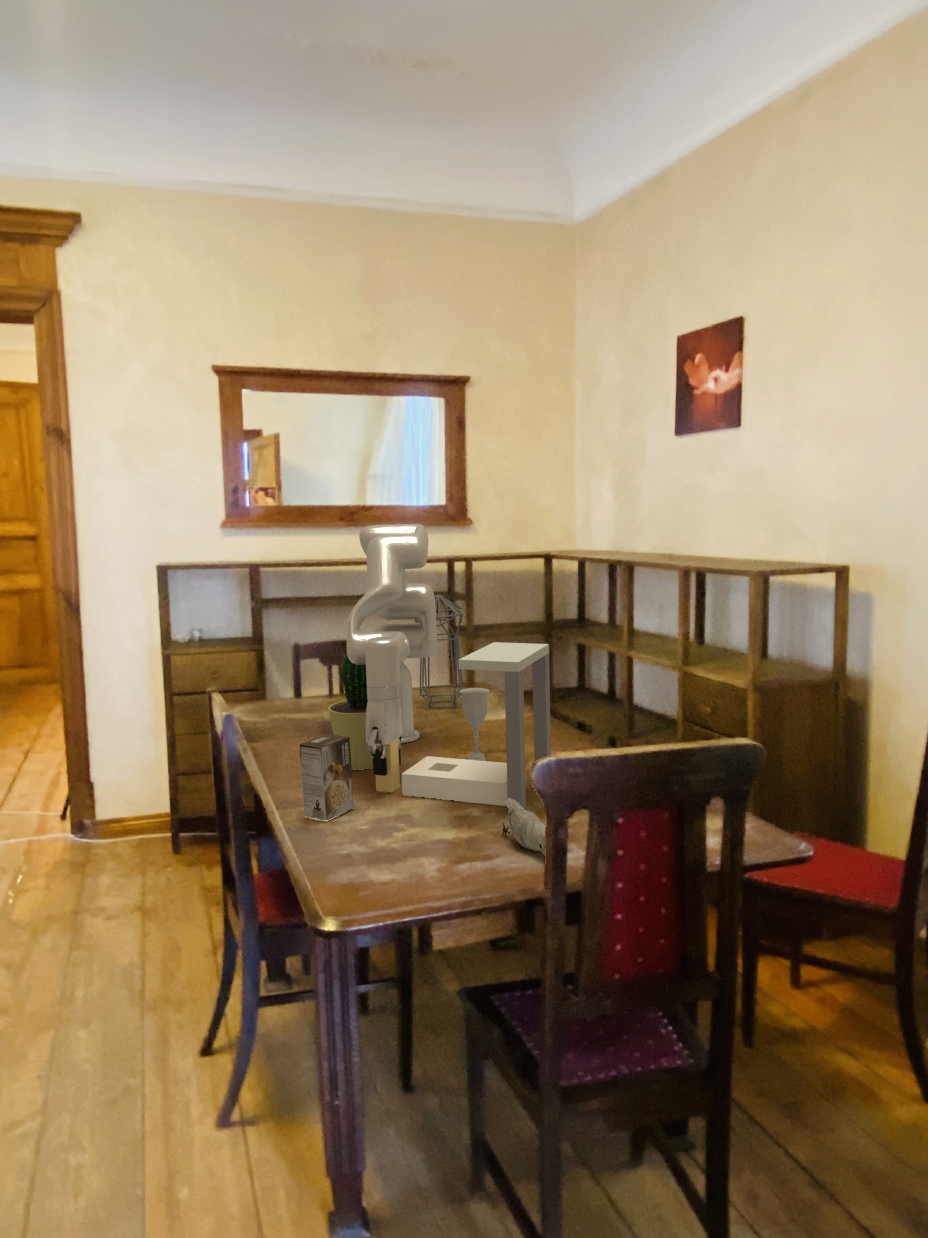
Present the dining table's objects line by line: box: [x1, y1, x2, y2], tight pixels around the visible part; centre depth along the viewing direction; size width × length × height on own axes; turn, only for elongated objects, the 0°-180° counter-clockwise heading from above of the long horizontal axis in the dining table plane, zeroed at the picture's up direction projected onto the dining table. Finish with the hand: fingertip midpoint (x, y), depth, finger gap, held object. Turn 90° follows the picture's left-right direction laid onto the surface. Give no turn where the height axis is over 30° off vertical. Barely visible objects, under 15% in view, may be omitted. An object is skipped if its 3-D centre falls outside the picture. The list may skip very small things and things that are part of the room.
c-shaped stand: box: [458, 641, 552, 812], centre depth 199 cm, size 13×22×32 cm, turn 159°
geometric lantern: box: [413, 594, 464, 709], centre depth 285 cm, size 16×16×35 cm
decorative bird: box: [501, 798, 547, 857], centre depth 171 cm, size 5×16×8 cm, turn 26°
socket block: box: [401, 755, 508, 807], centre depth 204 cm, size 24×14×5 cm, turn 69°
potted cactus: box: [327, 651, 373, 770], centre depth 225 cm, size 15×15×30 cm
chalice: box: [459, 687, 490, 761], centre depth 225 cm, size 7×7×18 cm
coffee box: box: [299, 733, 355, 820], centre depth 191 cm, size 9×6×16 cm
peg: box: [375, 738, 401, 793], centre depth 206 cm, size 4×4×12 cm
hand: (387, 769), depth 207 cm, fingers open, 6 cm apart
